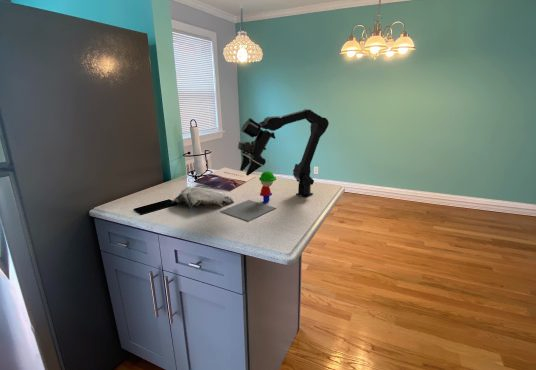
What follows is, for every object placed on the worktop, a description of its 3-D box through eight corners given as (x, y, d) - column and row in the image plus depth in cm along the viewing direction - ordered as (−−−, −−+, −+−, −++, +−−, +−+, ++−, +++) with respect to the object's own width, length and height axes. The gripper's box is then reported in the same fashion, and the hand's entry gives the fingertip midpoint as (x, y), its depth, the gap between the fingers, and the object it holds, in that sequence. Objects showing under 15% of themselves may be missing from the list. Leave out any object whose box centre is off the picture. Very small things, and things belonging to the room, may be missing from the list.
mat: (248, 200, 145) (248, 199, 144) (276, 208, 134) (276, 207, 134) (220, 211, 131) (220, 211, 131) (248, 221, 121) (248, 220, 121)
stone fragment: (202, 191, 163) (201, 179, 161) (241, 201, 145) (240, 188, 144) (160, 203, 144) (159, 190, 142) (199, 216, 126) (198, 202, 125)
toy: (274, 205, 138) (274, 173, 134) (258, 204, 140) (257, 173, 135) (277, 199, 145) (277, 169, 141) (261, 198, 147) (261, 168, 143)
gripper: (239, 131, 140) (223, 160, 141) (252, 136, 123) (234, 169, 124) (259, 142, 145) (243, 171, 146) (273, 149, 128) (255, 181, 129)
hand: (243, 172), depth 136 cm, fingers open, 9 cm apart
